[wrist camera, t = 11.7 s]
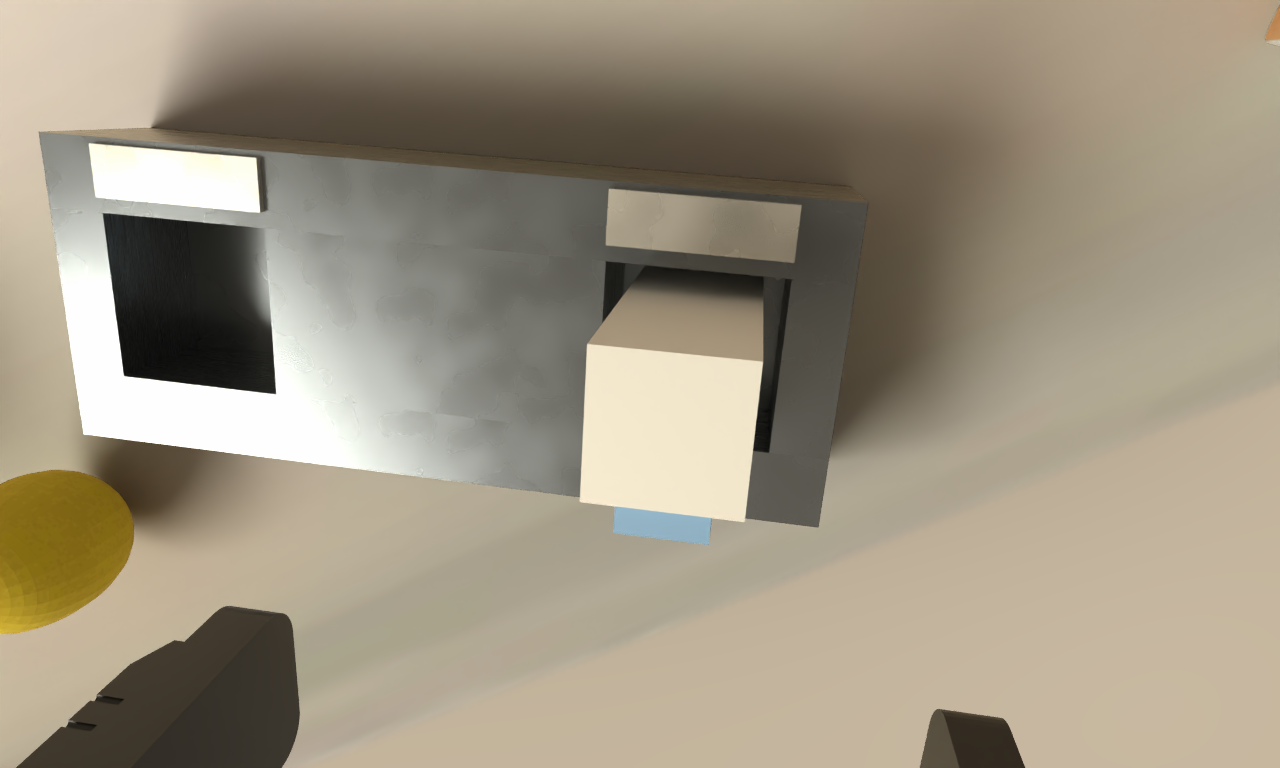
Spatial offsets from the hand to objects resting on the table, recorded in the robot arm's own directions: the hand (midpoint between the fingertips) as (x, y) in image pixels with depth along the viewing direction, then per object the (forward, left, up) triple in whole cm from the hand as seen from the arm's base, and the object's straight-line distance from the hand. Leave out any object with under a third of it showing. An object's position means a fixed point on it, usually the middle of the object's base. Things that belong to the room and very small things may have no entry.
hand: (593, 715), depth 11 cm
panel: (0, -8, -21) cm, 22 cm away
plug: (0, 0, -20) cm, 20 cm away
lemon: (+11, -24, -21) cm, 34 cm away
